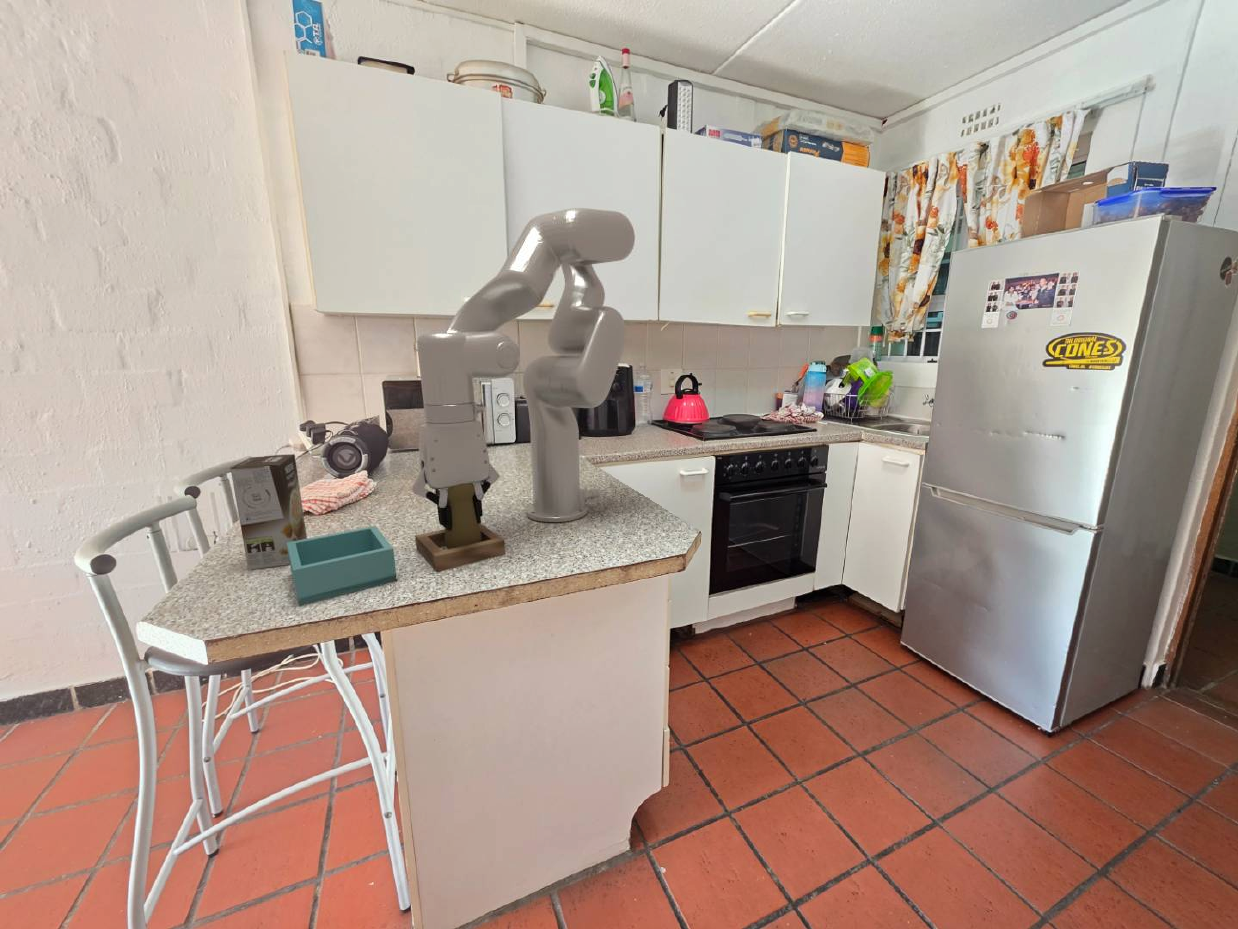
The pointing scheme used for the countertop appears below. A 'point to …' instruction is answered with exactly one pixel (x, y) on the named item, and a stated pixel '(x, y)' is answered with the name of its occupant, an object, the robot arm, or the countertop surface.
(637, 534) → the countertop surface
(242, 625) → the countertop surface
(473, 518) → the cork
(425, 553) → the walnut collar
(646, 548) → the countertop surface
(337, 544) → the teal bin
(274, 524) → the coffee box
